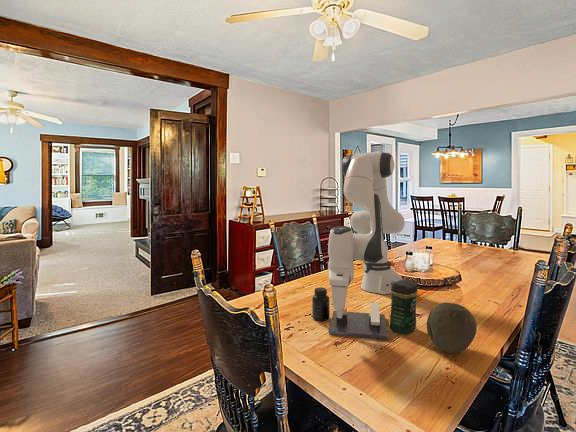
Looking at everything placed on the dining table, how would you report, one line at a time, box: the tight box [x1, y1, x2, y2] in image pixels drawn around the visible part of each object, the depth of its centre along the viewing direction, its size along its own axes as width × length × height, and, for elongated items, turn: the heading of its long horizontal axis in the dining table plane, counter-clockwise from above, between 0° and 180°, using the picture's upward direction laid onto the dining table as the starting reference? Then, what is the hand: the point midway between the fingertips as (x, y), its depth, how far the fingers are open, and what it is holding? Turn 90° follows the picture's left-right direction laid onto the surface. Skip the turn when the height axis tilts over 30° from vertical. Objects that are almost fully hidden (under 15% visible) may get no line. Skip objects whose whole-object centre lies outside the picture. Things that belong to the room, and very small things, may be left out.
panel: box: [328, 310, 389, 341], centre depth 122 cm, size 18×20×3 cm
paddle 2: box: [369, 302, 381, 326], centre depth 120 cm, size 10×4×2 cm, turn 167°
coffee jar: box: [389, 277, 418, 336], centre depth 118 cm, size 10×8×19 cm
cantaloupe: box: [426, 301, 478, 354], centre depth 104 cm, size 14×14×15 cm
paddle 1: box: [336, 307, 348, 315], centre depth 123 cm, size 10×4×2 cm, turn 167°
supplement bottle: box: [311, 287, 331, 323], centre depth 129 cm, size 7×7×12 cm
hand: (340, 311), depth 115 cm, fingers open, 8 cm apart
